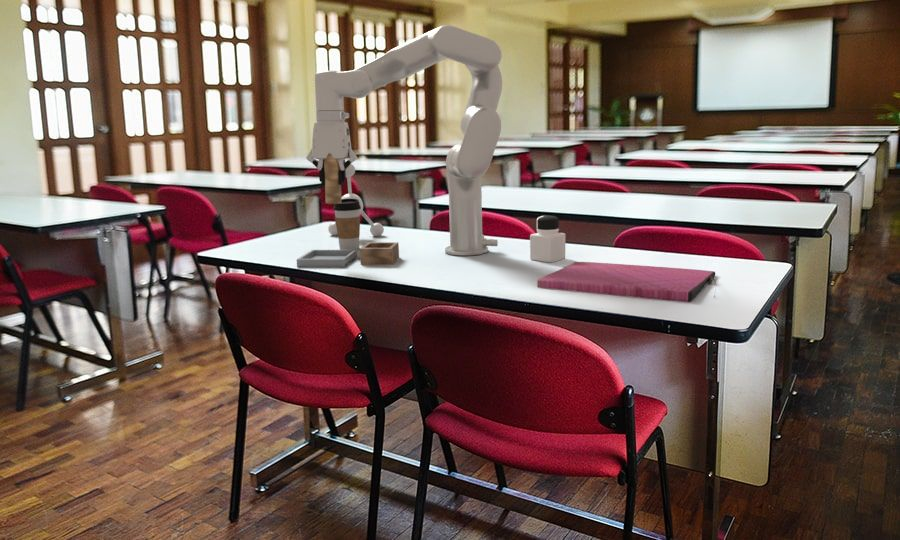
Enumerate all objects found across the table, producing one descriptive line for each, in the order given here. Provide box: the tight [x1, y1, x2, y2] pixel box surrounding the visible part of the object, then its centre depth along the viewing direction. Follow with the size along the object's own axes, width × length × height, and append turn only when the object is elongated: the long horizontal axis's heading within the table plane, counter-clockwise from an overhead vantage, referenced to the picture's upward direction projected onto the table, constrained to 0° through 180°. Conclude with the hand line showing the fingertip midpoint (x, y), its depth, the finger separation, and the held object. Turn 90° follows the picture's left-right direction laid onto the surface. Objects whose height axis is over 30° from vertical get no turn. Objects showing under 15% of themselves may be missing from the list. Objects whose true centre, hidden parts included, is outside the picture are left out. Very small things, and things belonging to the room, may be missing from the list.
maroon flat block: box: [536, 261, 716, 303], centre depth 186 cm, size 40×4×27 cm
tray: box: [296, 249, 358, 268], centre depth 219 cm, size 14×14×2 cm
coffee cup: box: [333, 199, 361, 250], centre depth 236 cm, size 8×8×15 cm
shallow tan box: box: [359, 241, 400, 265], centre depth 218 cm, size 9×9×4 cm
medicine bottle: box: [529, 215, 566, 263], centre depth 213 cm, size 7×7×12 cm
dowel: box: [324, 153, 342, 205], centre depth 214 cm, size 4×4×14 cm
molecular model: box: [327, 163, 384, 237], centre depth 252 cm, size 18×20×25 cm
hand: (332, 183), depth 214 cm, fingers closed on dowel, 4 cm apart
